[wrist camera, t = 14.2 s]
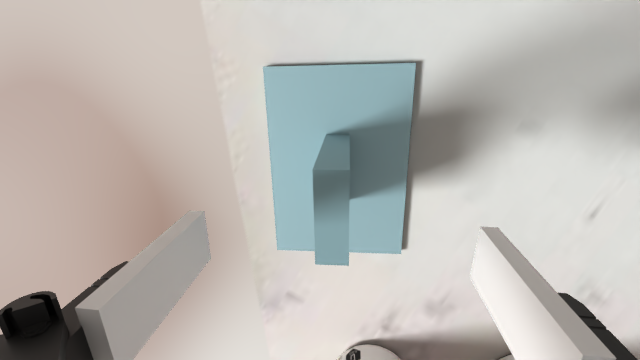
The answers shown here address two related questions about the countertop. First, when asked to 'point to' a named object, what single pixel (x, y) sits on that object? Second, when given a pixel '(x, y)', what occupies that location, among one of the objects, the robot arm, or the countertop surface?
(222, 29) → the countertop surface
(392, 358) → the supplement can
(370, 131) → the lid
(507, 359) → the fruit juice
